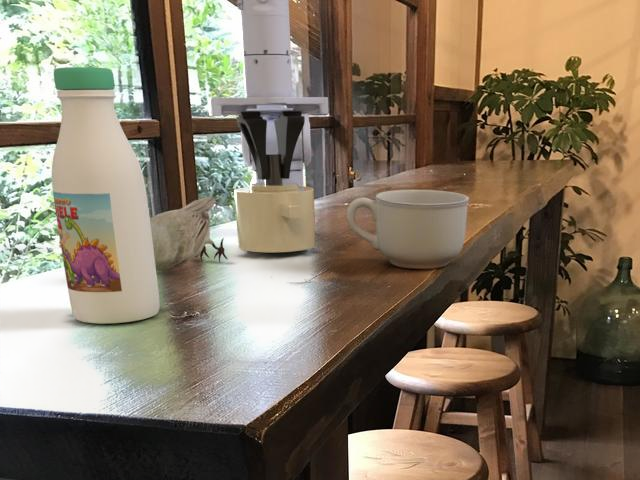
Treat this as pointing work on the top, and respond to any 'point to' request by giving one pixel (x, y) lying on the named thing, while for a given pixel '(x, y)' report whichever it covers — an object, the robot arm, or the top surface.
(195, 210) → the decorative bird
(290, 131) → the robot arm
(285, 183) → the kettle
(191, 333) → the top surface
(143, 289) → the milk bottle
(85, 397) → the top surface
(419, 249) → the teacup
